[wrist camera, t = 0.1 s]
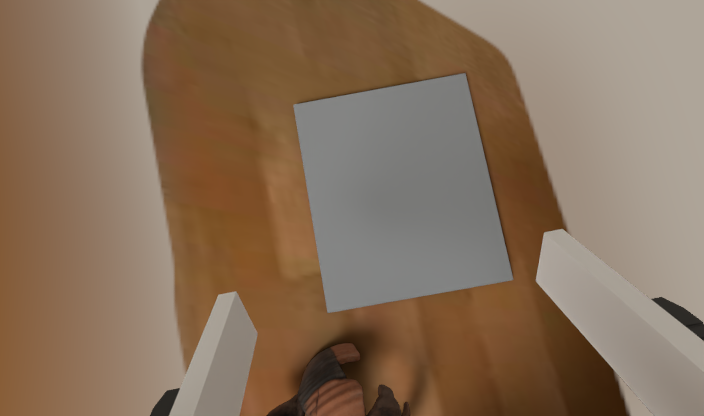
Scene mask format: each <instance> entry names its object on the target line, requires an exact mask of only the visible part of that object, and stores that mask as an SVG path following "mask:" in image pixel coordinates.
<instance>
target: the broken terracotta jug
mask: <svg viewBox="0 0 704 416" xmlns="http://www.w3.org/2000/svg"><path fill="white" fill-rule="evenodd" d="M359 360H360V354H359V352H358V351H357V350H356V348H355V346H354V344H352V343H343V344H338V345H335V346H332V347H330V348H327V349H325V350H324V351H322V352H320V353H319V354H317V355H316V356H315V357H314V358H313V359H312V360H311V361H310V362H309V364H308V365H307V367H306V369H305V371H304V374H303V377H302V381H301V384H300V387H299V391H298V394H297V395H295V396H294V397H293V398H292V399H290V400H289V401H287V402H285V403H283V404H281V405H279V406H277V407H276V408H274V409H273V410H272V411H271V412H269V413H268V415H267V416H305V414H306V416H410V409H409V404H408V402H405V403H404V409H403V412H402V415H401V410H400V406H399V404H398V402H397V401H396V399H395V398H394V394H393V391H392V390H391V389H390V388H388V387H387V386H385V385H379V387H378V395H379V397H378V398H377V400H376V402H375V404H374V406H373V408H372V409H371V410H370V412H369V413H368V414H367V415H366V414H365V406H364V397H363V388H362V386H361V385H360V384H359V383H358V382H357V381H356V380H354V379H346V375H345V373H344V372H343V371H342V369H341V367H340V365H341V364H344V363H348V362H353V361H359Z"/></svg>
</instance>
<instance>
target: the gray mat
mask: <svg viewBox="0 0 704 416" xmlns="http://www.w3.org/2000/svg"><path fill="white" fill-rule="evenodd" d="M294 111H295V118H296V124H297V130H298V136H299V142H300V148H301V154H302V160H303V166H304V172H305V178H306V184H307V190H308V196H309V203H310V209H311V215H312V221H313V227H314V233H315V239H316V245H317V251H318V257H319V263H320V269H321V275H322V282H323V288H324V294H325V300H326V306H327V312H328V313H331V312H336V311H342V310H347V309H353V308H359V307H364V306H370V305H375V304H381V303H387V302H392V301H398V300H404V299H409V298H415V297H420V296H426V295H432V294H437V293H443V292H449V291H454V290H460V289H465V288H471V287H477V286H482V285H488V284H493V283H499V282H505V281H510V280H513V276H512V271H511V267H510V263H509V259H508V254H507V250H506V246H505V241H504V237H503V233H502V228H501V224H500V220H499V216H498V211H497V207H496V203H495V198H494V194H493V190H492V185H491V181H490V177H489V173H488V168H487V164H486V160H485V155H484V151H483V147H482V143H481V138H480V134H479V130H478V125H477V121H476V117H475V112H474V108H473V104H472V100H471V95H470V91H469V87H468V82H467V78H466V74H465V73H463V74H458V75H453V76H447V77H442V78H436V79H431V80H425V81H420V82H415V83H409V84H404V85H398V86H393V87H387V88H382V89H376V90H371V91H366V92H360V93H355V94H349V95H344V96H338V97H333V98H328V99H322V100H317V101H311V102H306V103H300V104H295V105H294Z"/></svg>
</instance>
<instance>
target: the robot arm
mask: <svg viewBox="0 0 704 416" xmlns="http://www.w3.org/2000/svg"><path fill="white" fill-rule="evenodd" d="M536 282H537V283H538V284H539V285H540V287H541V288H542V289H543V290H544V291H545V292H546V293H547V294H548V296H549V297H550V298H551V299H552V300H553V301H554V302H555V304H556V305H557V306H558V307H559V308H560V309H561V310H562V312H563V313H564V314H565V315H566V316H567V317H568V318H569V320H570V321H571V322H572V323H573V324H574V325H575V326H576V327H577V329H578V330H579V331H580V332H581V333H582V334H583V335H584V337H585V338H586V339H587V340H588V341H589V342H590V343H591V345H592V346H593V347H594V348H595V349H596V350H597V351H598V353H599V354H600V355H601V356H602V357H603V358H604V359H605V360H606V362H607V363H608V364H609V365H610V366H611V367H612V368H613V370H614V371H615V372H616V373H617V374H618V375H619V376H620V378H621V379H622V380H623V381H624V382H625V383H626V384H627V386H628V387H629V388H630V389H631V390H632V391H633V392H634V393H635V395H636V396H637V397H638V398H639V399H640V400H641V401H642V403H643V404H644V405H645V406H646V407H647V408H648V409H649V411H651V413H652V414H653V415H654V416H704V324H703V322H702V321H701V320H699V319H698V318H696V317H695V316H694V315H693V314H691V313H690V312H688V311H687V310H686V309H684V308H683V307H681V306H679V305H676V304H675V303H673V302H670V301H668V300H666V299H664V298H662V297H659V298H654V299H650V298H649V297H648V296H646V295H645V294H644V293H642V292H641V291H640V290H639V289H637V288H636V287H635V286H634V285H632V284H631V283H630V282H628V281H627V280H626V279H625V278H624V277H622V276H621V275H620V274H618V273H617V272H616V271H615V270H613V269H612V268H611V267H610V266H608V265H607V264H606V263H605V262H603V261H602V260H601V259H600V258H598V257H597V256H596V255H595V254H593V253H592V252H591V251H590V250H588V249H587V248H586V247H584V246H583V245H582V244H580V243H579V242H578V241H577V240H576V239H574V238H573V237H572V236H571V235H569V234H568V233H567V232H566V231H564V230H563V229H560V230H554V231H549V232H544V236H543V242H542V248H541V254H540V259H539V265H538V271H537V277H536ZM257 334H258V333H257V331H256V329H255V328H254V326H253V324H252V322H251V320H250V318H249V316H248V314H247V312H246V310H245V308H244V306H243V304H242V302H241V300H240V298H239V296H238V294H237V292H231V293H226V294H220V295H218V297H217V300H216V302H215V305H214V307H213V310H212V312H211V315H210V317H209V319H208V322H207V324H206V327H205V329H204V332H203V334H202V336H201V339H200V341H199V344H198V346H197V349H196V351H195V353H194V356H193V358H192V361H191V363H190V366H189V368H188V371H187V373H186V375H185V378H184V381H183V383H182V385H181V388H178V389H173V390H168V391H166V392H165V394H164V395H163V396H162V398H161V399H160V400H159V402H158V403H157V404H156V405H155V407H154V408H153V410H152V412H151V415H150V416H239V415H240V410H241V406H242V401H243V397H244V392H245V388H246V383H247V379H248V375H249V370H250V366H251V361H252V357H253V352H254V348H255V343H256V339H257Z"/></svg>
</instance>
